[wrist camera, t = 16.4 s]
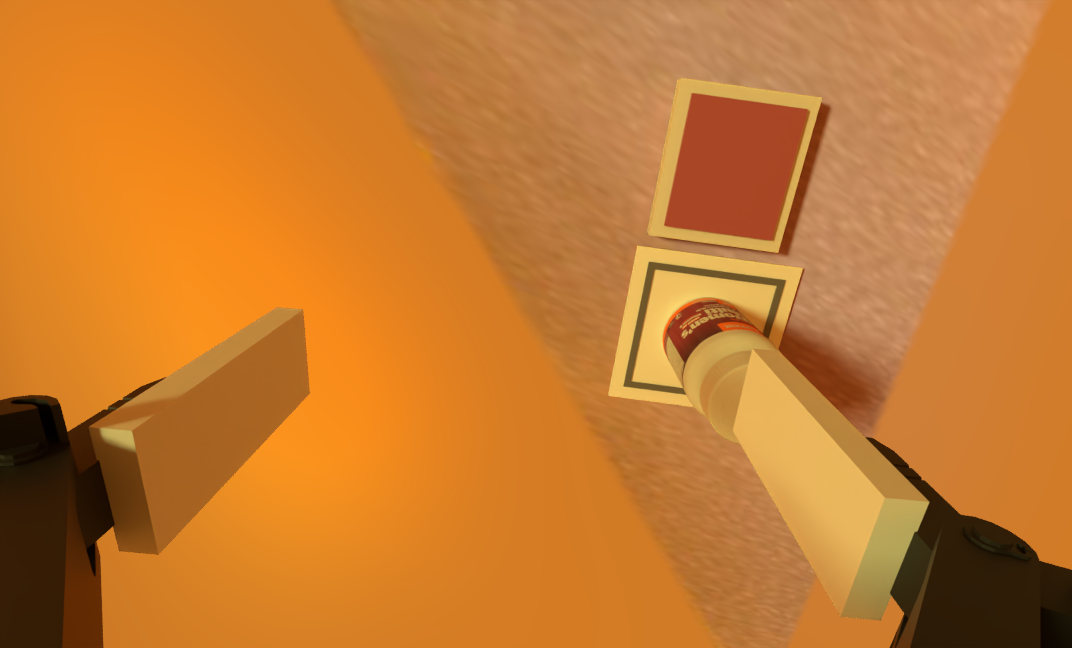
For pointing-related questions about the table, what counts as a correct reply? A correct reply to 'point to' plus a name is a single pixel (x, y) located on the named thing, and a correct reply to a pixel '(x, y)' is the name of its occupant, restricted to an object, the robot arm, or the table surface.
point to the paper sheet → (673, 282)
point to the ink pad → (731, 164)
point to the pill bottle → (712, 357)
